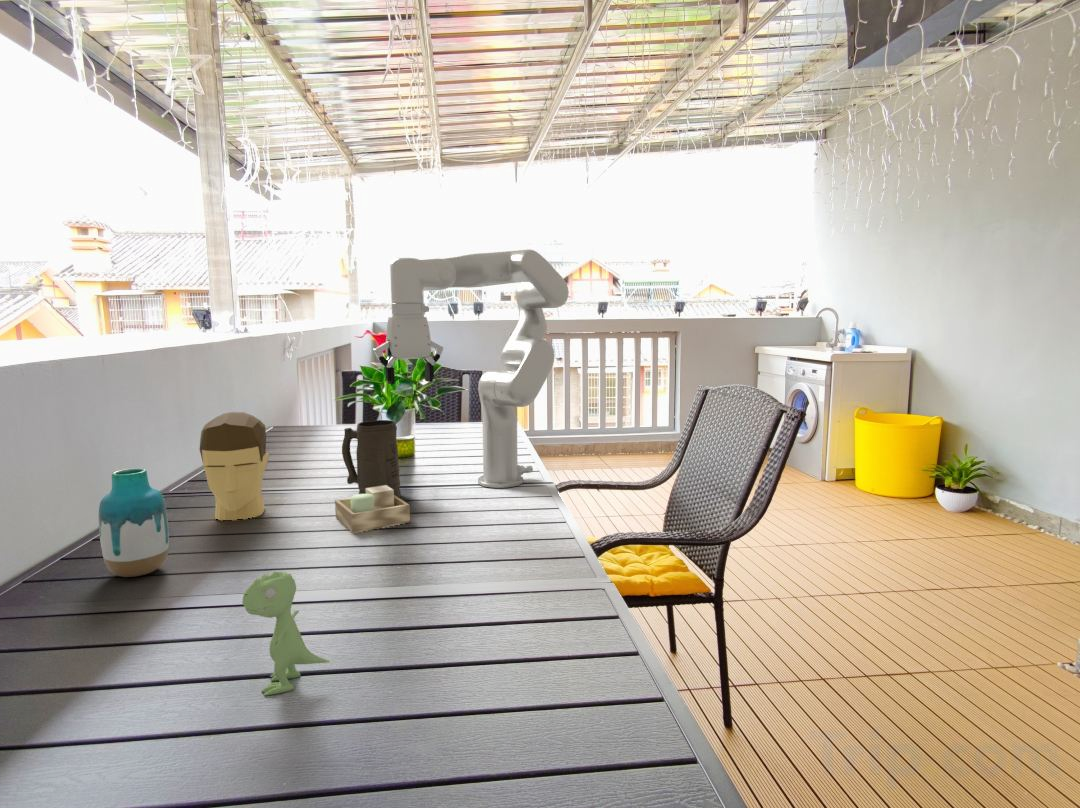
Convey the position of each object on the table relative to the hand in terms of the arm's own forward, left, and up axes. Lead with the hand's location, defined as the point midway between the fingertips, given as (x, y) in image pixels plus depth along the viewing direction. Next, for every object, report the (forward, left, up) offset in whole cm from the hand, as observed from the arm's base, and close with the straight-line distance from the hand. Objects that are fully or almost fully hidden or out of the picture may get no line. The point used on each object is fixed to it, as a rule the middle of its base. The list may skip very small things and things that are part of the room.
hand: (410, 382), depth 159 cm
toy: (+44, +66, -31) cm, 85 cm away
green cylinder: (+16, +9, -30) cm, 35 cm away
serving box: (+13, +7, -30) cm, 34 cm away
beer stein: (+7, -12, -31) cm, 34 cm away
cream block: (+10, +5, -30) cm, 32 cm away
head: (+38, -14, -31) cm, 51 cm away
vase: (+59, +13, -31) cm, 68 cm away
